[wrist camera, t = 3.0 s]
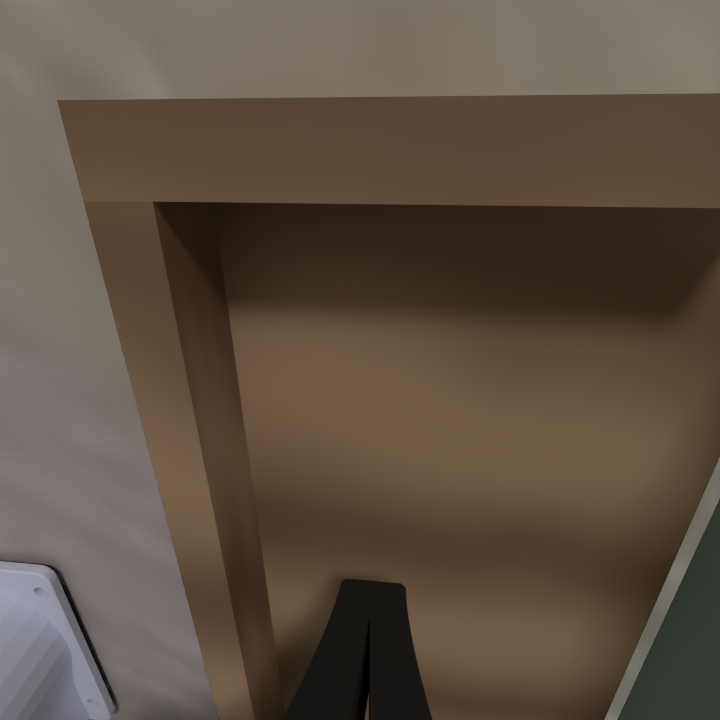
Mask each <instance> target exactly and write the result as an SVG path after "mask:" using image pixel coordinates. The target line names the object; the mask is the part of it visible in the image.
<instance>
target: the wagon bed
mask: <svg viewBox="0 0 720 720" xmlns="http://www.w3.org/2000/svg"><path fill="white" fill-rule="evenodd" d="M57 101H58V105H59V109H60V113H61V117H62V121H63V124H64V128H65V132H66V136H67V140H68V143H69V147H70V151H71V155H72V159H73V163H74V166H75V170H76V174H77V178H78V182H79V186H80V189H81V193H82V197H83V201H84V205H85V209H86V212H87V216H88V220H89V224H90V228H91V232H92V235H93V239H94V243H95V247H96V251H97V255H98V258H99V262H100V266H101V270H102V274H103V278H104V281H105V285H106V289H107V293H108V297H109V301H110V304H111V308H112V312H113V316H114V320H115V324H116V327H117V331H118V335H119V339H120V343H121V347H122V350H123V354H124V358H125V362H126V366H127V370H128V373H129V377H130V381H131V385H132V389H133V393H134V396H135V400H136V404H137V408H138V412H139V416H140V419H141V423H142V427H143V431H144V435H145V439H146V442H147V446H148V450H149V454H150V458H151V462H152V465H153V469H154V473H155V477H156V481H157V485H158V488H159V492H160V496H161V500H162V504H163V508H164V511H165V515H166V519H167V523H168V527H169V531H170V534H171V538H172V542H173V546H174V550H175V554H176V557H177V561H178V565H179V569H180V573H181V577H182V580H183V584H184V588H185V592H186V596H187V600H188V603H189V607H190V611H191V615H192V619H193V623H194V626H195V630H196V634H197V638H198V642H199V646H200V649H201V653H202V657H203V661H204V665H205V669H206V672H207V676H208V680H209V684H210V688H211V692H212V695H213V699H214V703H215V707H216V711H217V715H218V718H219V720H282V719H283V717H284V715H285V713H286V711H287V709H288V707H289V705H290V704H291V702H292V700H293V698H294V696H295V694H296V692H297V690H298V688H299V686H300V684H301V682H302V680H303V678H304V676H305V673H306V671H307V669H308V667H309V665H310V663H311V660H312V658H313V656H314V654H315V652H316V650H317V647H318V645H319V643H320V640H321V638H322V636H323V633H324V631H325V628H326V626H327V623H328V621H329V618H330V616H331V613H332V610H333V607H334V604H335V601H336V599H337V595H338V592H339V588H340V585H341V581H343V580H345V579H346V578H347V579H358V580H369V581H380V582H391V583H401V584H402V585H404V586H405V587H406V600H407V609H408V617H409V623H410V629H411V635H412V640H413V645H414V650H415V654H416V659H417V663H418V667H419V672H420V675H421V679H422V683H423V687H424V691H425V694H426V698H427V702H428V706H429V709H430V713H431V716H432V720H604V719H605V717H606V714H607V712H608V710H609V708H610V705H611V703H612V701H613V699H614V696H615V694H616V692H617V689H618V687H619V685H620V683H621V680H622V678H623V676H624V673H625V671H626V669H627V667H628V664H629V662H630V660H631V658H632V655H633V653H634V651H635V648H636V646H637V644H638V642H639V639H640V637H641V635H642V632H643V630H644V628H645V626H646V623H647V621H648V619H649V617H650V614H651V612H652V610H653V607H654V605H655V603H656V601H657V598H658V596H659V594H660V591H661V589H662V587H663V585H664V582H665V580H666V578H667V576H668V573H669V571H670V569H671V566H672V564H673V562H674V560H675V557H676V555H677V553H678V551H679V548H680V546H681V544H682V541H683V539H684V537H685V535H686V532H687V530H688V528H689V525H690V523H691V521H692V519H693V516H694V514H695V512H696V510H697V507H698V505H699V503H700V500H701V498H702V496H703V494H704V491H705V489H706V487H707V484H708V482H709V480H710V478H711V475H712V473H713V471H714V469H715V466H716V464H717V462H718V459H719V457H720V93H717V94H622V95H527V96H432V97H337V98H242V99H146V100H57ZM365 720H369V694H368V701H367V708H366V714H365Z"/></svg>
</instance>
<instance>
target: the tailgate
mask: <svg viewBox="0 0 720 720" xmlns="http://www.w3.org/2000/svg"><path fill="white" fill-rule="evenodd" d="M618 720H720V500H719V502H718V504H717V506H716V508H715V510H714V512H713V515H712V517H711V519H710V521H709V523H708V525H707V528H706V530H705V532H704V534H703V536H702V538H701V541H700V543H699V545H698V547H697V549H696V551H695V553H694V556H693V558H692V560H691V562H690V564H689V566H688V569H687V571H686V573H685V575H684V577H683V579H682V582H681V584H680V586H679V588H678V590H677V592H676V594H675V597H674V599H673V601H672V603H671V605H670V607H669V610H668V612H667V614H666V616H665V618H664V620H663V623H662V625H661V627H660V629H659V631H658V633H657V635H656V638H655V640H654V642H653V644H652V646H651V648H650V651H649V653H648V655H647V657H646V659H645V661H644V664H643V666H642V668H641V670H640V672H639V674H638V676H637V679H636V681H635V683H634V685H633V687H632V689H631V692H630V694H629V696H628V698H627V700H626V702H625V705H624V707H623V709H622V711H621V713H620V715H619V717H618Z"/></svg>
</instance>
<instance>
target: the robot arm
mask: <svg viewBox="0 0 720 720" xmlns="http://www.w3.org/2000/svg"><path fill="white" fill-rule="evenodd" d="M368 694H369V720H432V716H431V713H430V709H429V706H428V702H427V698H426V694H425V691H424V687H423V683H422V679H421V675H420V672H419V667H418V663H417V659H416V654H415V650H414V645H413V640H412V635H411V629H410V623H409V617H408V609H407V600H406V587H405V586H404V585H402V584H401V583H391V582H380V581H369V580H358V579H347V578H346V579H345V580H343V581H341V585H340V588H339V592H338V595H337V599H336V601H335V604H334V607H333V610H332V613H331V616H330V618H329V621H328V623H327V626H326V628H325V631H324V633H323V636H322V638H321V640H320V643H319V645H318V647H317V650H316V652H315V654H314V656H313V658H312V660H311V663H310V665H309V667H308V669H307V671H306V673H305V676H304V678H303V680H302V682H301V684H300V686H299V688H298V690H297V692H296V694H295V696H294V698H293V700H292V702H291V704H290V705H289V707H288V709H287V711H286V713H285V715H284V717H283V719H282V720H365V714H366V708H367V701H368ZM114 711H115V706H114V704H113V702H112V699H111V697H110V695H109V693H108V690H107V688H106V686H105V684H104V681H103V679H102V677H101V674H100V672H99V670H98V668H97V665H96V663H95V661H94V659H93V656H92V654H91V652H90V649H89V647H88V645H87V643H86V640H85V638H84V636H83V634H82V631H81V629H80V627H79V624H78V622H77V620H76V618H75V615H74V613H73V611H72V608H71V606H70V604H69V602H68V599H67V597H66V595H65V593H64V590H63V588H62V586H61V583H60V581H59V579H58V577H57V574H56V573H55V572H54V571H53V570H52V569H51V568H49V567H47V566H44V565H38V564H28V563H17V562H6V561H0V720H89V719H93V720H109V719H110V718H111V716H112V715H113V713H114Z"/></svg>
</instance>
